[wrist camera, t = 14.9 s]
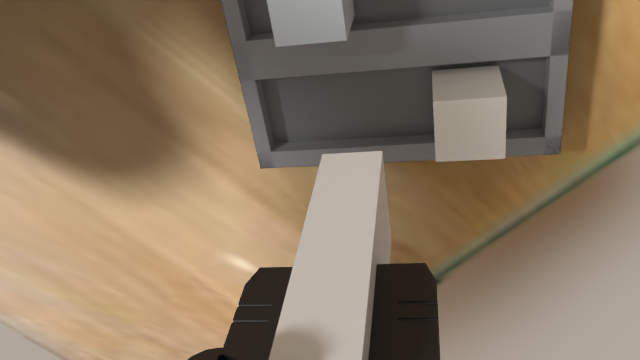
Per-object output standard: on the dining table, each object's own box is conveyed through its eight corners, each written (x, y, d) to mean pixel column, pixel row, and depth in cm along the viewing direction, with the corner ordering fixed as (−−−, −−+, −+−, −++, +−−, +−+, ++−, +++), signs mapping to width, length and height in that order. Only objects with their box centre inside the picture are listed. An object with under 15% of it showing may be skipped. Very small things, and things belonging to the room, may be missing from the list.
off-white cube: (434, 127, 39) (435, 161, 35) (432, 70, 37) (432, 101, 33) (497, 123, 38) (505, 158, 34) (498, 65, 36) (506, 96, 32)
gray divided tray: (268, 149, 44) (260, 169, 41) (217, -81, 35) (203, -71, 33) (552, 133, 40) (560, 154, 37) (572, -131, 31) (584, -124, 29)
